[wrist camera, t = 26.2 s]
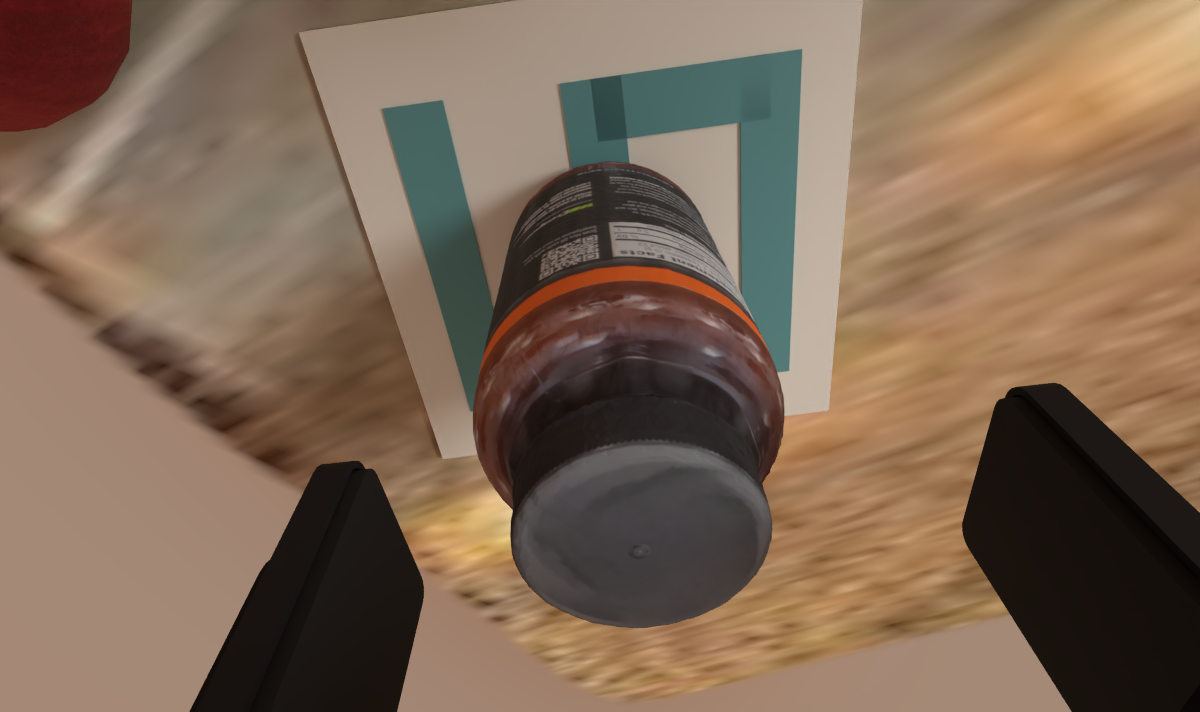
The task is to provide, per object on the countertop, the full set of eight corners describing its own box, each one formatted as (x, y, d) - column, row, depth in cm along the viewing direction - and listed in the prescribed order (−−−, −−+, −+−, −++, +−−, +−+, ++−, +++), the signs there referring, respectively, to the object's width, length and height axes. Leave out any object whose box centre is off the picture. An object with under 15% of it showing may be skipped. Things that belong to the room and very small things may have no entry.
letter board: (301, 31, 16) (297, 32, 16) (863, -51, 16) (868, -51, 15) (443, 455, 23) (442, 460, 23) (826, 407, 23) (829, 411, 23)
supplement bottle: (624, 371, 21) (657, 708, 12) (471, 271, 19) (362, 583, 10) (751, 237, 19) (924, 526, 9) (592, 107, 17) (604, 307, 7)
